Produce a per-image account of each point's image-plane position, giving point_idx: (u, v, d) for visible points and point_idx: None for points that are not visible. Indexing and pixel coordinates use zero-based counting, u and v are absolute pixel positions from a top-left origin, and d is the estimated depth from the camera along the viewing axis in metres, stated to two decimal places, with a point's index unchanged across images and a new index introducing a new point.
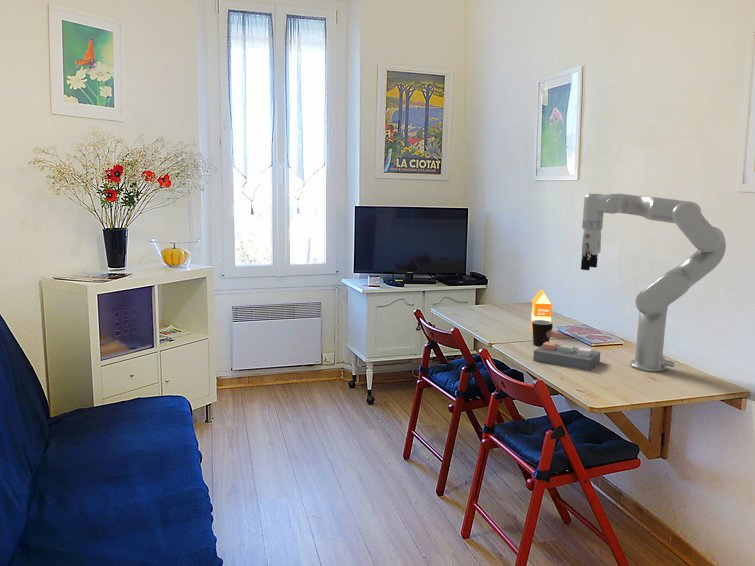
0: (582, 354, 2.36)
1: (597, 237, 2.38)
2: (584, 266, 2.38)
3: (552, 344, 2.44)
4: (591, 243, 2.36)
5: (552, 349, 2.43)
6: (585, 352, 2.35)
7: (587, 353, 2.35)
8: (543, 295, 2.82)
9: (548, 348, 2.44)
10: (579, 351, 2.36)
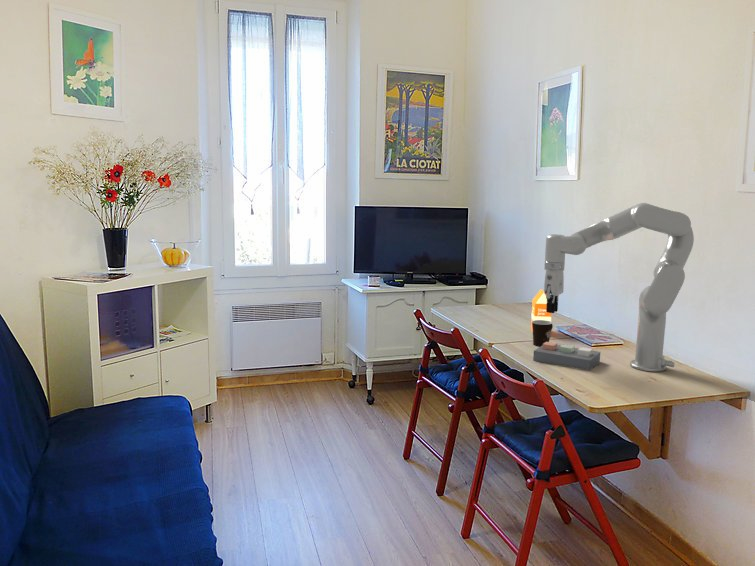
0: (582, 354, 2.36)
1: (559, 278, 2.38)
2: (549, 309, 2.41)
3: (552, 344, 2.44)
4: (553, 285, 2.36)
5: (552, 349, 2.43)
6: (585, 352, 2.35)
7: (587, 353, 2.35)
8: (543, 295, 2.82)
9: (548, 348, 2.44)
10: (579, 351, 2.36)
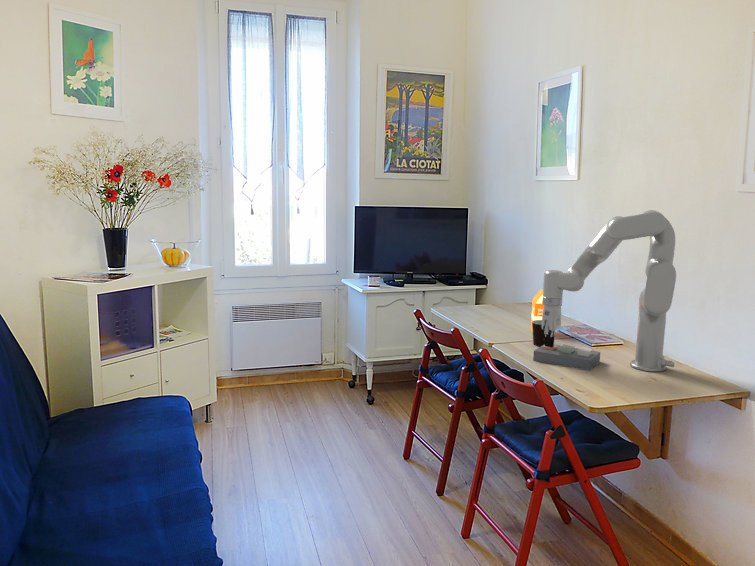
0: (582, 354, 2.36)
1: (557, 313, 2.40)
2: (548, 343, 2.44)
3: (552, 347, 2.44)
4: (551, 320, 2.39)
5: None
6: (585, 352, 2.35)
7: (587, 353, 2.35)
8: None
9: None
10: (579, 351, 2.36)
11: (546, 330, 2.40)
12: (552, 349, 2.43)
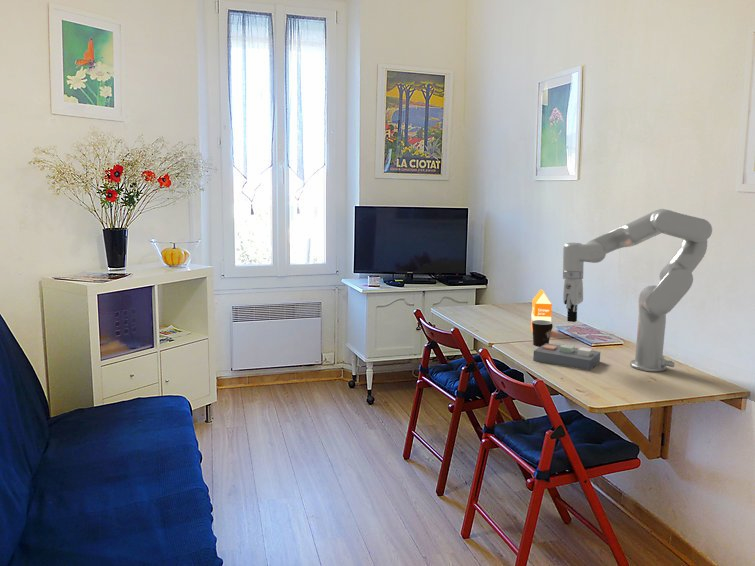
0: (582, 354, 2.36)
1: (579, 286, 2.34)
2: (570, 318, 2.38)
3: (552, 347, 2.44)
4: (572, 294, 2.32)
5: None
6: (585, 352, 2.35)
7: (587, 353, 2.35)
8: (543, 295, 2.82)
9: None
10: (579, 351, 2.36)
11: (568, 304, 2.34)
12: (552, 349, 2.43)
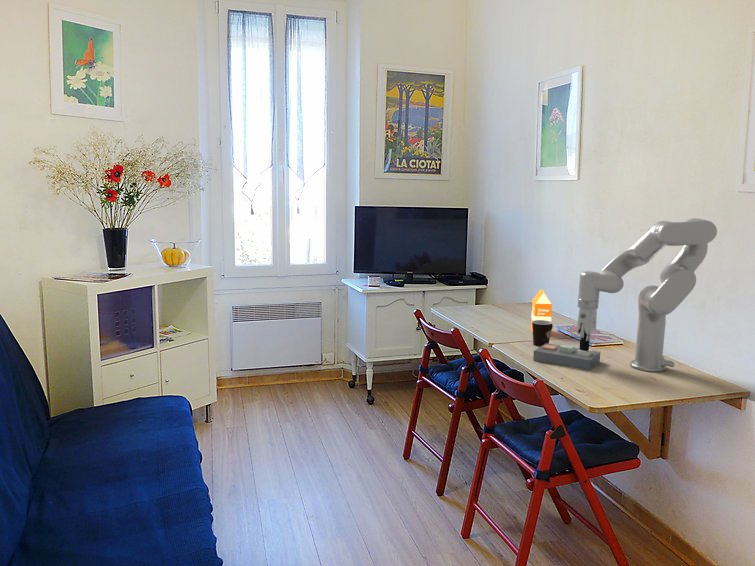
0: (582, 355, 2.36)
1: (593, 316, 2.32)
2: (583, 347, 2.36)
3: (552, 347, 2.44)
4: (587, 323, 2.31)
5: None
6: (585, 353, 2.35)
7: (587, 354, 2.35)
8: (543, 295, 2.82)
9: None
10: (579, 352, 2.37)
11: (582, 333, 2.32)
12: (552, 349, 2.43)
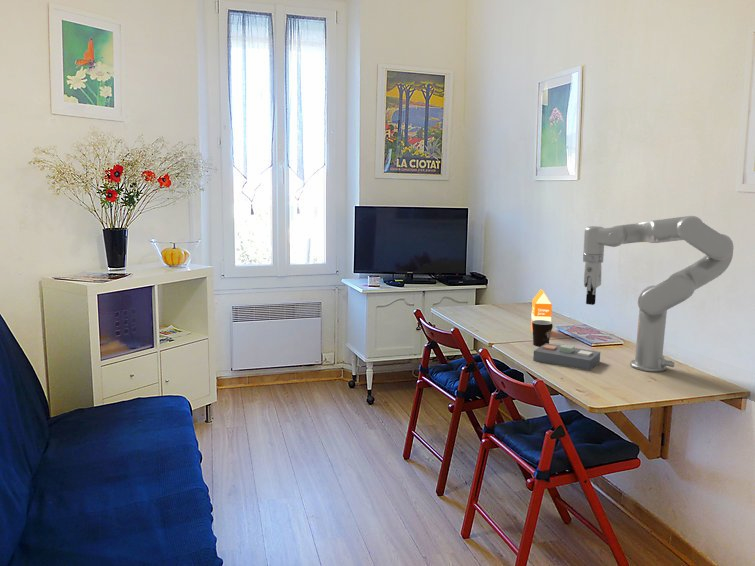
0: None
1: (599, 270, 2.37)
2: (589, 301, 2.41)
3: (552, 347, 2.44)
4: (594, 277, 2.35)
5: None
6: (585, 355, 2.35)
7: (587, 356, 2.35)
8: (543, 295, 2.82)
9: None
10: (579, 354, 2.37)
11: (589, 287, 2.37)
12: (552, 349, 2.43)
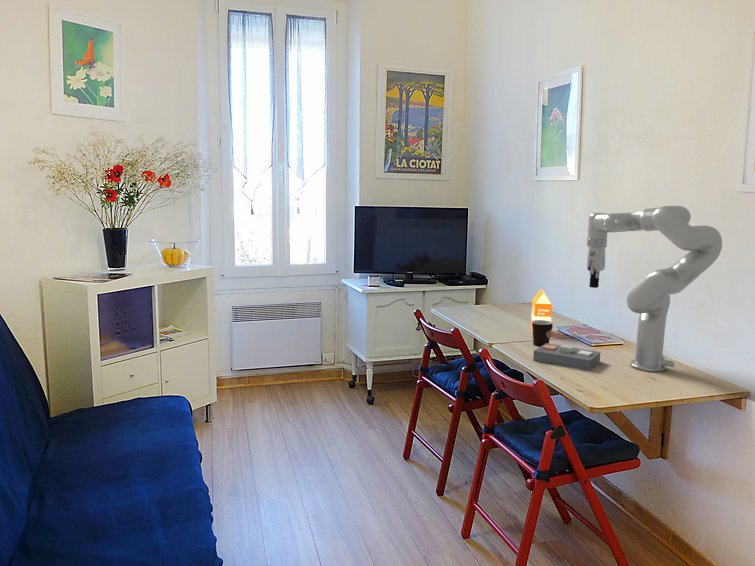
0: None
1: (602, 254, 2.48)
2: (592, 284, 2.52)
3: (552, 347, 2.44)
4: (596, 260, 2.46)
5: None
6: (585, 355, 2.35)
7: (587, 356, 2.35)
8: (543, 295, 2.82)
9: None
10: (579, 354, 2.37)
11: (592, 270, 2.47)
12: (552, 349, 2.43)
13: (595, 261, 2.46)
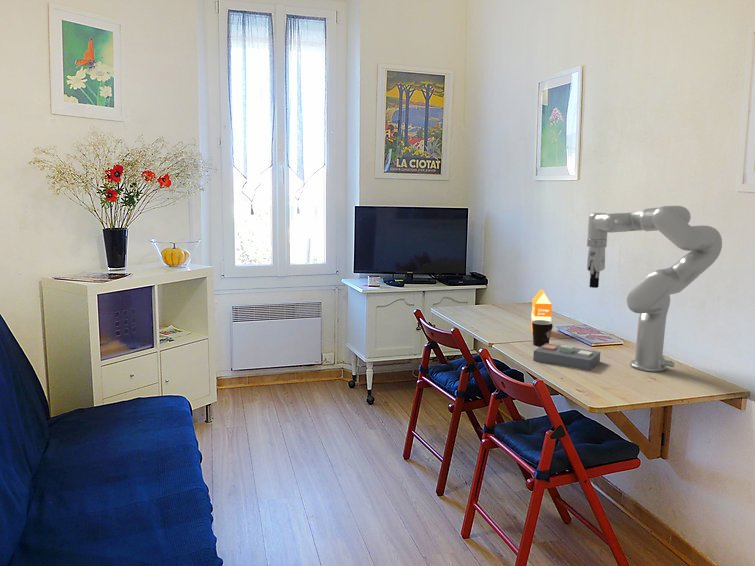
0: None
1: (602, 254, 2.48)
2: (592, 284, 2.52)
3: (552, 347, 2.44)
4: (596, 260, 2.46)
5: None
6: (585, 355, 2.35)
7: (587, 356, 2.35)
8: (543, 295, 2.82)
9: None
10: (579, 354, 2.37)
11: (592, 270, 2.47)
12: (552, 349, 2.43)
13: (595, 261, 2.46)
